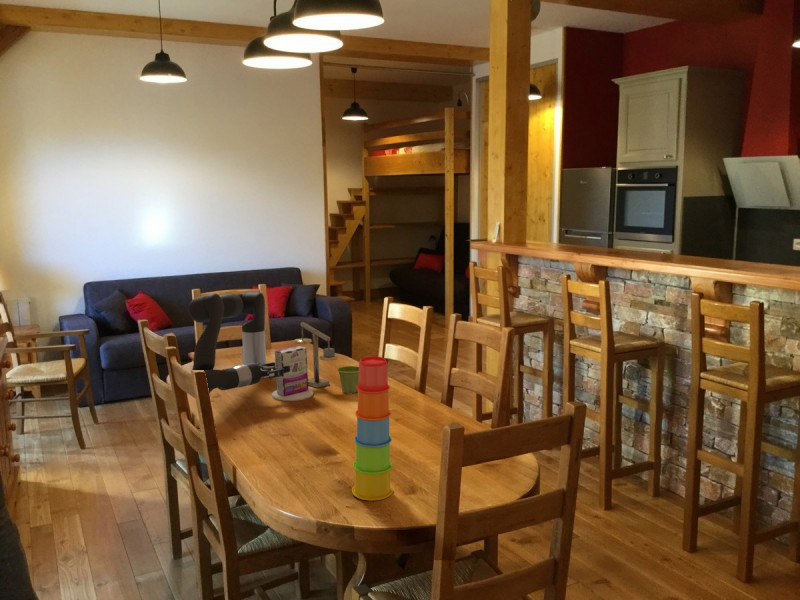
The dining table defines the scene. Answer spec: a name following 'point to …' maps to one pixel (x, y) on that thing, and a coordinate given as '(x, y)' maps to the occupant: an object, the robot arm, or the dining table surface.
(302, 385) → the candy bar box
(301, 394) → the dish
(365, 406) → the stacking cups
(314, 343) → the balance
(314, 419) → the dining table surface
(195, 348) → the robot arm
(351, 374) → the plant pot
